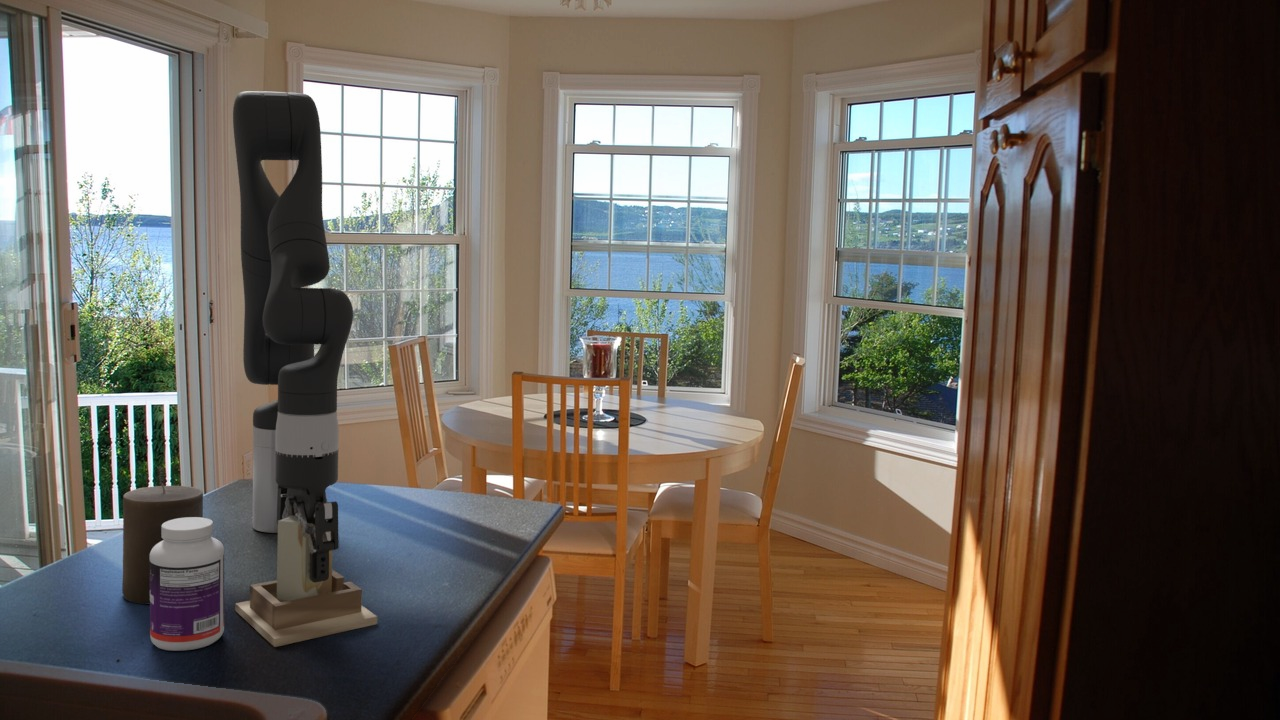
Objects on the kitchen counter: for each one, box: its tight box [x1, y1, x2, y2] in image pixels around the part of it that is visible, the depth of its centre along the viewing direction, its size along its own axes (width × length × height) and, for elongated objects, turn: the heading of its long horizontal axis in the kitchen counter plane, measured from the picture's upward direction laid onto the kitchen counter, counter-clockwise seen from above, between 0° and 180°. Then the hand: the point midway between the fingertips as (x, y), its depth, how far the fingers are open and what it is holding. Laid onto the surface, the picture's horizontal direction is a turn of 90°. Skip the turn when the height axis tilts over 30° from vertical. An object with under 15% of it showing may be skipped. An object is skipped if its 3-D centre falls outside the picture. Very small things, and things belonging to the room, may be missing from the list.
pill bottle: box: [149, 517, 225, 652], centre depth 115 cm, size 8×8×14 cm
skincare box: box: [276, 515, 333, 602], centre depth 124 cm, size 6×4×12 cm
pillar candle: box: [121, 483, 204, 605], centre depth 130 cm, size 10×10×15 cm
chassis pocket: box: [234, 569, 378, 648], centre depth 124 cm, size 14×13×4 cm
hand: (306, 571), depth 124 cm, fingers open, 8 cm apart
